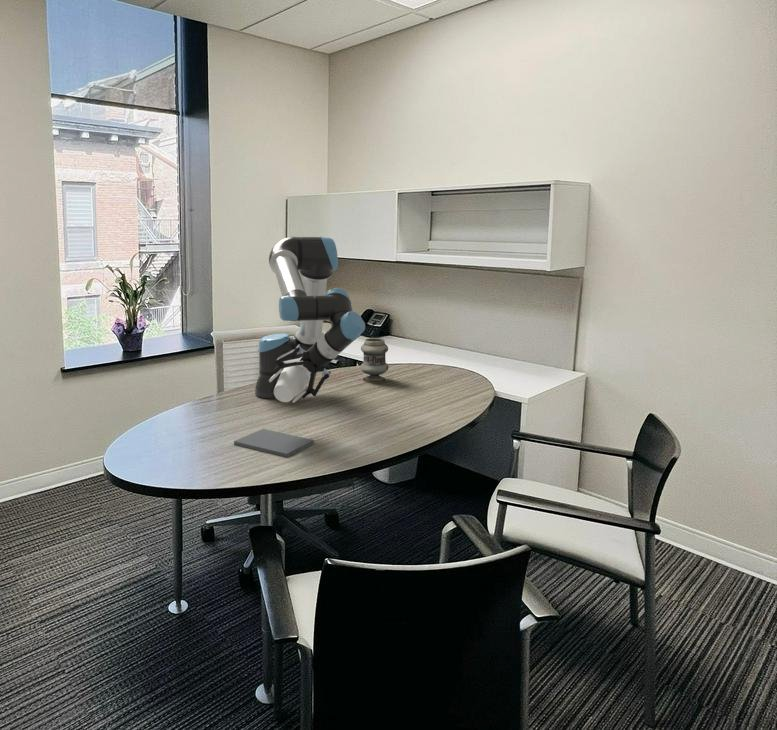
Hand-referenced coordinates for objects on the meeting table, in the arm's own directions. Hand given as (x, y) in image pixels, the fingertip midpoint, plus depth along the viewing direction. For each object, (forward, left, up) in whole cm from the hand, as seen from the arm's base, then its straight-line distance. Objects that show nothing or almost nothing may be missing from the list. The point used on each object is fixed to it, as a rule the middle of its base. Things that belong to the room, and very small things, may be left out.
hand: (282, 389), depth 208 cm
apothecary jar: (-7, +74, -14) cm, 75 cm away
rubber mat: (+6, -12, -14) cm, 19 cm away
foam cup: (+5, -7, +1) cm, 8 cm away
